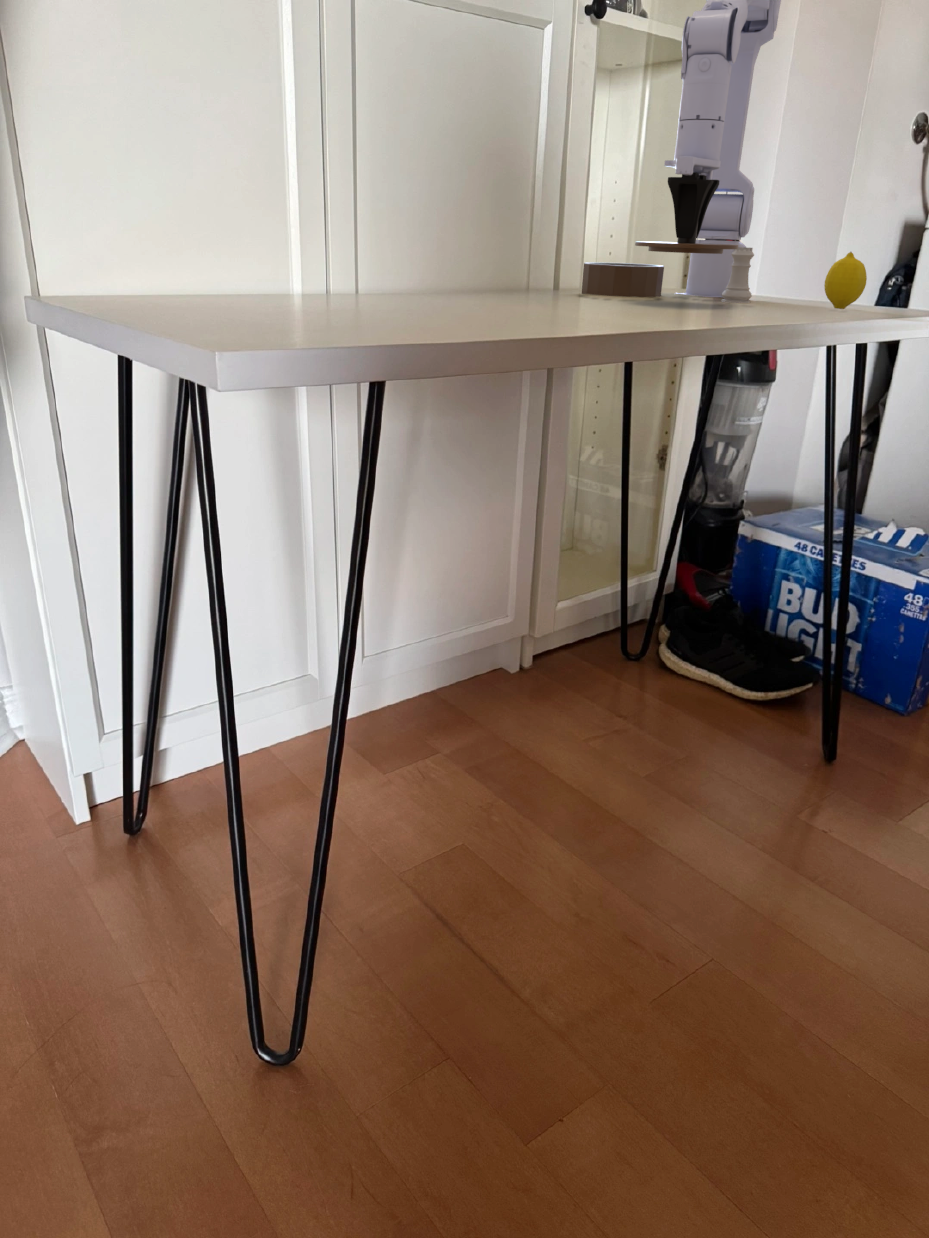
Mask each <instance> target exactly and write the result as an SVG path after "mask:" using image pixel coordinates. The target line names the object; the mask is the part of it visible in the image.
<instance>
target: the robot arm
mask: <svg viewBox="0 0 929 1238" xmlns="http://www.w3.org/2000/svg"><path fill="white" fill-rule="evenodd" d="M705 1H706V2H705V3H704V5H703V6H702V8H701V10H694V11H693V12H692V15H691V16H689V15H688V16H686V18H685V21H684V25H683V29H682V36H681V70H680V79H681V80H682V86H681V93H680V94H681V95H680V102H679V112H678V122H677V129H676V130H677V133H676V138H675V139H676V140H675V150H674V157H673V159H670V160H669V159H667V160H664V165H663V166H664V167H666V168H673V169H675V175H681V176H669V177H667V185H668V188H669V191H670V194H671V198H672V203H673V204H672V205H673V211H674V212H673V213H674V226H675V228H674V229H675V237H676V238H677V239H678V238H693V237H694V234H695V231H696V228H697V224H698V228H697V236H696V243H706V244H729V245H738V247H743V248H744V247H746V248H748V247H747V246H746V245H745V244H744V243H743V242H741V241H740V240H741V239H742V238H745V237H746V236H747V235H748V234H749V232H750V229H751V224H752V218H753V211H754V195H755V187H754V183H753V181H751V179H750V178H749V177H748V176H746V175H745V174H744V173H743V172H742V171H741V170H740V167H741V161H742V153H743V147H744V141H745V140H744V139H745V132H746V126H747V118H748V112H749V105H750V100H751V99H750V98H751V92H752V86H753V85H752V84H753V78H754V71H755V65H756V62H757V58H758V56H759V53H760V50H761V47H762V46H764V45H766V44H767V43H769V42H770V41H772V40H773V39H774V36H775V32H776V31H777V27H778V22H779V21H778V20H779V14H780V8H781V2H782V0H705ZM716 192H721V193H716ZM739 193H740V194H739ZM733 251H734V249H723V253H722V254H705V253H690V256H689V264H688V272H687V278H686V279H687V280H686V288H685V292H674V293H673V294H674V295H685V296H695V297H704V298H705V297H706V298H723V297H722V293H723V292H724V291H725V290H726V287H727V285H728V283H729V280H730V276H731V273H732V266H731V265H732V264H733V257H732V255H731V254H732V253H733Z"/></svg>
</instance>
